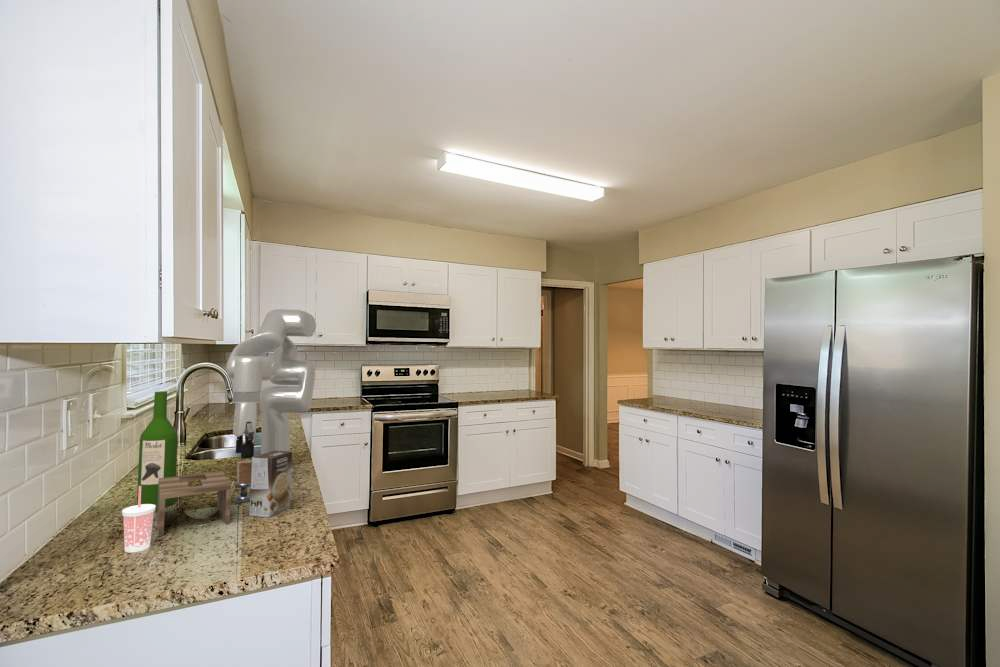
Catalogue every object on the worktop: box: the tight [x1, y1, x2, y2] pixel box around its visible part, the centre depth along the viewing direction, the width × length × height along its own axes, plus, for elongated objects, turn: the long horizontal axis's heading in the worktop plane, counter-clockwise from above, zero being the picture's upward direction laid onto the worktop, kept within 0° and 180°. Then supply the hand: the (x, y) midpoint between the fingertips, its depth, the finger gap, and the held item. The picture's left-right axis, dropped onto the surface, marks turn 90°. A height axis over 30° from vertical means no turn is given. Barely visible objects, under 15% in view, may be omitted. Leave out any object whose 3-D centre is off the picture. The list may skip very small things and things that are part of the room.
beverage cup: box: [121, 486, 156, 553], centre depth 107 cm, size 6×6×14 cm
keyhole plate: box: [156, 470, 232, 537], centre depth 125 cm, size 17×15×10 cm
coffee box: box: [248, 450, 293, 519], centre depth 133 cm, size 9×6×16 cm
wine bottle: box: [136, 391, 179, 511], centre depth 137 cm, size 9×9×32 cm
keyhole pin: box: [234, 459, 252, 504], centre depth 142 cm, size 5×5×12 cm
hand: (244, 455), depth 141 cm, fingers open, 9 cm apart
